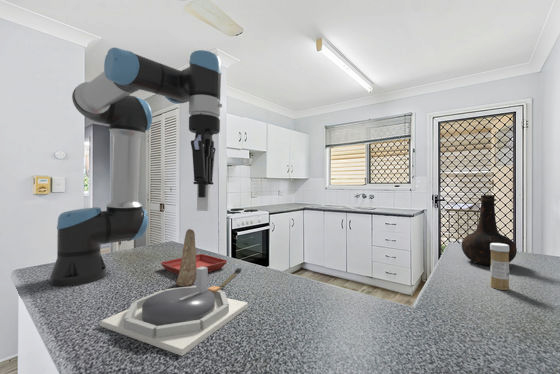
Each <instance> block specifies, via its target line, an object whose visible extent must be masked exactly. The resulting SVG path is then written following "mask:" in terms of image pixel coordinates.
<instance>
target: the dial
mask: <svg viewBox="0 0 560 374" xmlns="http://www.w3.org/2000/svg"><path fill="white" fill-rule="evenodd" d="M208 281H209V272H208V268H207V267H203V266H202V267H199V268H196V280H195V282H196V283H195V286H196V288H181V287H178V288H179V289H173V290H168V291H165V290H164V292H161V293H158V294H156V295H154V296H152V297H150V298H148V299H147V300H146V301H145V302H144V303H143V305H142V320H143V321H144V322H146V323H149V324H152V325H155V326H161V325H168V324H174V323H181V322H187V321H194V320H200V319H201V318H203V317H205V316H206V315H208V314H209V313H211V312H213V311H214V308H215V295H214V294H213V293H212V292H211V291H209V290H208V288H209V287H208V284H209V282H208Z"/></svg>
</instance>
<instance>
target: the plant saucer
mask: <svg viewBox="0 0 560 374" xmlns="http://www.w3.org/2000/svg"><path fill="white" fill-rule="evenodd" d="M181 259H182V257H180V258H176V259H171V260H166V261H161V262H160V265H161V266H162V267H163V268H164V269H165V270H166V271H168V272H170V273H174V274H175V275H177V276H179V270H180V265H181ZM227 263H228V260H226V259H223V258H219V257H216V256H211V255H208V254H204V253H200V254H199V253H198V254H196V268H199V267H202V266H203V267H207V268H208V273H210V272H211V273H212V272H214V271H218V270H221V269H223V267H224V266H225V265H226V264H227Z"/></svg>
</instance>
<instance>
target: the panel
mask: <svg viewBox="0 0 560 374" xmlns="http://www.w3.org/2000/svg"><path fill="white" fill-rule="evenodd" d="M179 288H196V285H191V286H187V287H186V286H184V287H182V286H181V287H173V288H166V289H161V290H159V291H157V292H156V291H155V292H154V293H153V292H152V293H151V294H148V295H146V296H144V297H141V298H139V299H136V300H134V301H133V302H131V303H130V305H129V307H128V309H126V310H123V311H121V312H119V313H116V314H113V315H112V316H109V317H106V318H104V319H102V320H100V327H102V328H104V329H106V330H107V329H108V330H111V331H113V332H115V333H119V334H120V335H124V336H126V337H129V338H132V339H134V340H138V341H140V342H143V343H144V344H145V343H146V344H148V345H151V346H153V347H157V348H159V349H162V350H164V351H168V352H170V353H173V354H176V355H178V356H182V357H183V356H185V354H187V353H189V352H190V351H191V350H192V349H194V348H195V347H197V346H198V345H199V344H201V343H202V342H203V341H205V340H206V339H208V338H209V337H210V336H211V335H213V334H214V333H215V332H217V331H218V330H220V329H221V328H223V327H224V326H225V325H226V324H228V323H229V322H231V321H232V320H233V319H235V318H236V317H237V316H239V315H240V314H241V313H242V312H244V311H245V310H247V309H248V308H249V302H246V301H242V300H237V299H234V298H227V295H226V291H224V290H220V289H221V287H219V286H216V285H212V286H210V287H208V290H209V291H211V292H212V293H213V294H214V295H215V308H214V311H213V312H211V313H209V314H208V315H206V316H205V317H203V318H201V319H200V320H194V321H187V322H181V323H174V324H168V325H161V326H155V325H152V324H149V323H146V322H144V321H143V320H142V305H143V303H144V302H145V301H146V300H147V299H148V298H150V297H152V296H154V295H156V294H158V293H161V292H164V291H168V290H173V289H179ZM223 291H224V292H223Z"/></svg>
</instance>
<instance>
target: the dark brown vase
mask: <svg viewBox="0 0 560 374" xmlns="http://www.w3.org/2000/svg"><path fill="white" fill-rule="evenodd" d="M480 197H481V198H480V199H479V201H480V211H479V219H478V223H477V227H476V229H475V230H474V231H473V232H472V233H469V234H467V235H465V236H464V237H463V239H462V240H461V245H460V246H461V250H462V252H463V255H465V257H466V258H467V259H468V260H469V261H471V262H473V263H475V264H479V265H483V266H488V267H491V249H490V244H491V243H502V244H507V245H509V264H510V263H512V261H514V259H515V257H516V256H517V251H518V250H517V246H516V244H515V242H514V241H513V240H512V239H510V238H509V237H507V236H506V235H502V234H501V233H500V232H499V230H498V227H497V220H496V219H497V218H496V208H495V201H496V202H497V201H498V199H496V198H495V195H493V194H482V195H481V196H480Z"/></svg>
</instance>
